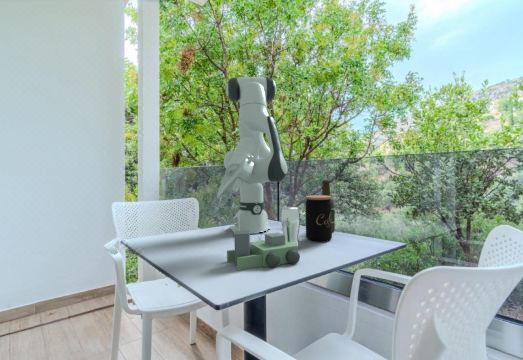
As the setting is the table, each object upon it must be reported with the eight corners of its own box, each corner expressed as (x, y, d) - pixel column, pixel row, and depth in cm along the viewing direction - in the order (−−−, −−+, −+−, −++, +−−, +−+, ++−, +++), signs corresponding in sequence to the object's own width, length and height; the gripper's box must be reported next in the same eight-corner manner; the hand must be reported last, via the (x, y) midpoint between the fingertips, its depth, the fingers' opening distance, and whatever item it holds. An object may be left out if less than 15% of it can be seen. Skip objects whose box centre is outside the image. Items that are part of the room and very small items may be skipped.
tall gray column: (236, 261, 100) (235, 231, 100) (250, 261, 100) (249, 230, 100) (235, 266, 96) (234, 233, 96) (249, 266, 96) (248, 233, 96)
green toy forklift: (224, 259, 104) (223, 235, 104) (277, 251, 112) (276, 229, 112) (242, 273, 89) (241, 245, 89) (301, 262, 98) (300, 237, 98)
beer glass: (299, 250, 113) (299, 209, 113) (280, 249, 114) (279, 209, 114) (301, 245, 120) (300, 206, 119) (283, 245, 121) (282, 206, 121)
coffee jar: (317, 243, 123) (316, 198, 122) (300, 238, 132) (300, 196, 131) (337, 240, 128) (337, 196, 127) (320, 235, 137) (319, 194, 137)
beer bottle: (317, 229, 150) (316, 180, 150) (333, 229, 150) (332, 179, 149) (319, 233, 143) (318, 180, 142) (336, 233, 142) (335, 180, 141)
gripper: (261, 158, 105) (250, 188, 96) (234, 186, 120) (223, 215, 111) (245, 148, 104) (233, 177, 94) (220, 178, 118) (207, 206, 109)
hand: (227, 198), depth 103 cm, fingers open, 8 cm apart
